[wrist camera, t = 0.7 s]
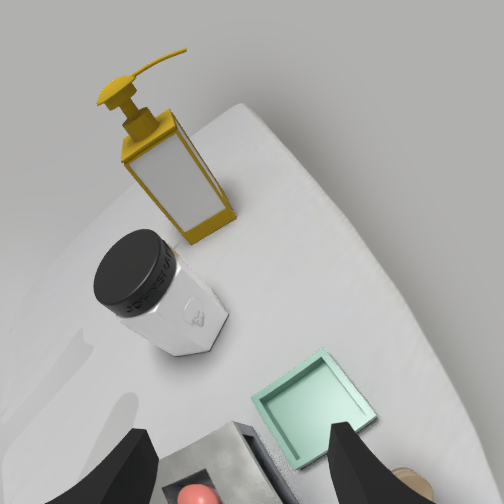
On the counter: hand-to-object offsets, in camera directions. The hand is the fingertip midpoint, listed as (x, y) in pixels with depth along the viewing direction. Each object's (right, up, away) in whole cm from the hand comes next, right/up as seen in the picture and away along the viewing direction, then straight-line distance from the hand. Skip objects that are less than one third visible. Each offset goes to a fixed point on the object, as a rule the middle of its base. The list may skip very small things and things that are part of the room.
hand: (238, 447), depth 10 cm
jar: (-6, -1, +25) cm, 25 cm away
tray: (+6, -6, +14) cm, 16 cm away
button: (-3, -13, +9) cm, 17 cm away
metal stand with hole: (-2, -15, +11) cm, 19 cm away
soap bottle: (-3, +14, +35) cm, 38 cm away
